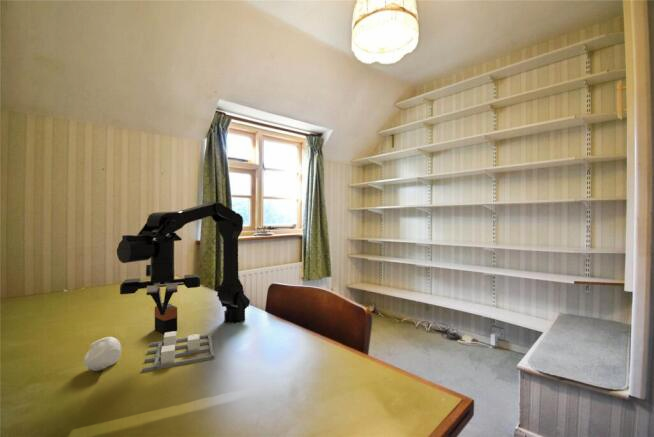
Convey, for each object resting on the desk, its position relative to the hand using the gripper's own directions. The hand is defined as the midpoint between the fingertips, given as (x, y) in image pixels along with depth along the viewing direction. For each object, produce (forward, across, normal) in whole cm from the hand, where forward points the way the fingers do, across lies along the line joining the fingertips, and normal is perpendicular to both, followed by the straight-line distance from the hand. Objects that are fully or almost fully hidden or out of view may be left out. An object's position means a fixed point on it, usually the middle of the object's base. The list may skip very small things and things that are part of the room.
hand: (162, 314), depth 82 cm
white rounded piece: (+12, +13, 0) cm, 18 cm away
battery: (+12, 0, -17) cm, 21 cm away
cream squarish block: (+10, -2, -3) cm, 11 cm away
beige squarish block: (+10, -8, +2) cm, 13 cm away
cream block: (+10, -2, +7) cm, 12 cm away
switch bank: (+12, -4, +2) cm, 12 cm away
